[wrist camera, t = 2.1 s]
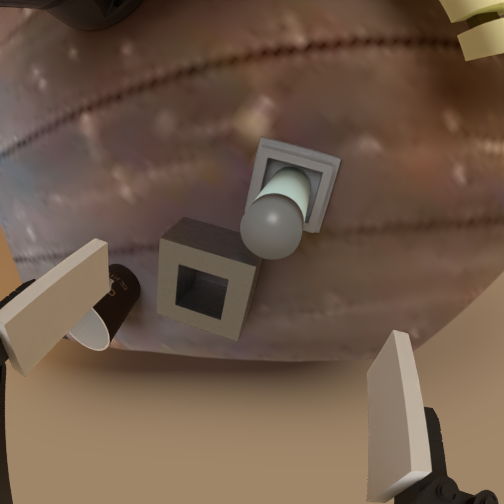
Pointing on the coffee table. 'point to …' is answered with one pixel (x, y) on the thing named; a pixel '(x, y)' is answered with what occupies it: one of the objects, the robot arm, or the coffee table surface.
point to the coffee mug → (108, 310)
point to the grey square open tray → (309, 160)
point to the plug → (277, 215)
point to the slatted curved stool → (478, 26)
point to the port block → (201, 292)
